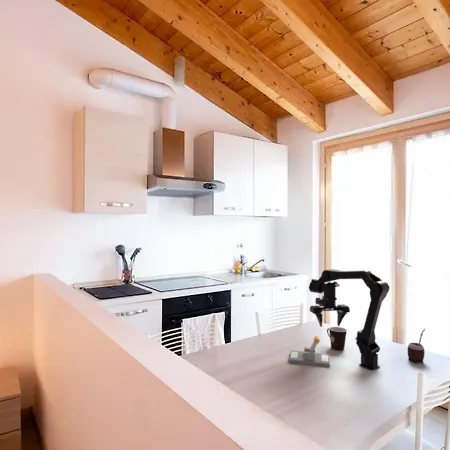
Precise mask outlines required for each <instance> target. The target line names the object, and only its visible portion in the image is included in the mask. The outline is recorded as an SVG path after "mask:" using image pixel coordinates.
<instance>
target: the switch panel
mask: <svg viewBox="0 0 450 450" xmlns="http://www.w3.org/2000/svg"><path fill="white" fill-rule="evenodd" d="M309 349H310V347H307V346H304V348H303V351H301V350H290V354H289V359H288V360H289V361H288V364H295V365H296V364H298V365H306V366H316V367H324V368H330V367H331V366H330V365H331V361H330V354H329V353H323V352H316V348H315V349H314V351H313V352H308V351H309Z"/></svg>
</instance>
